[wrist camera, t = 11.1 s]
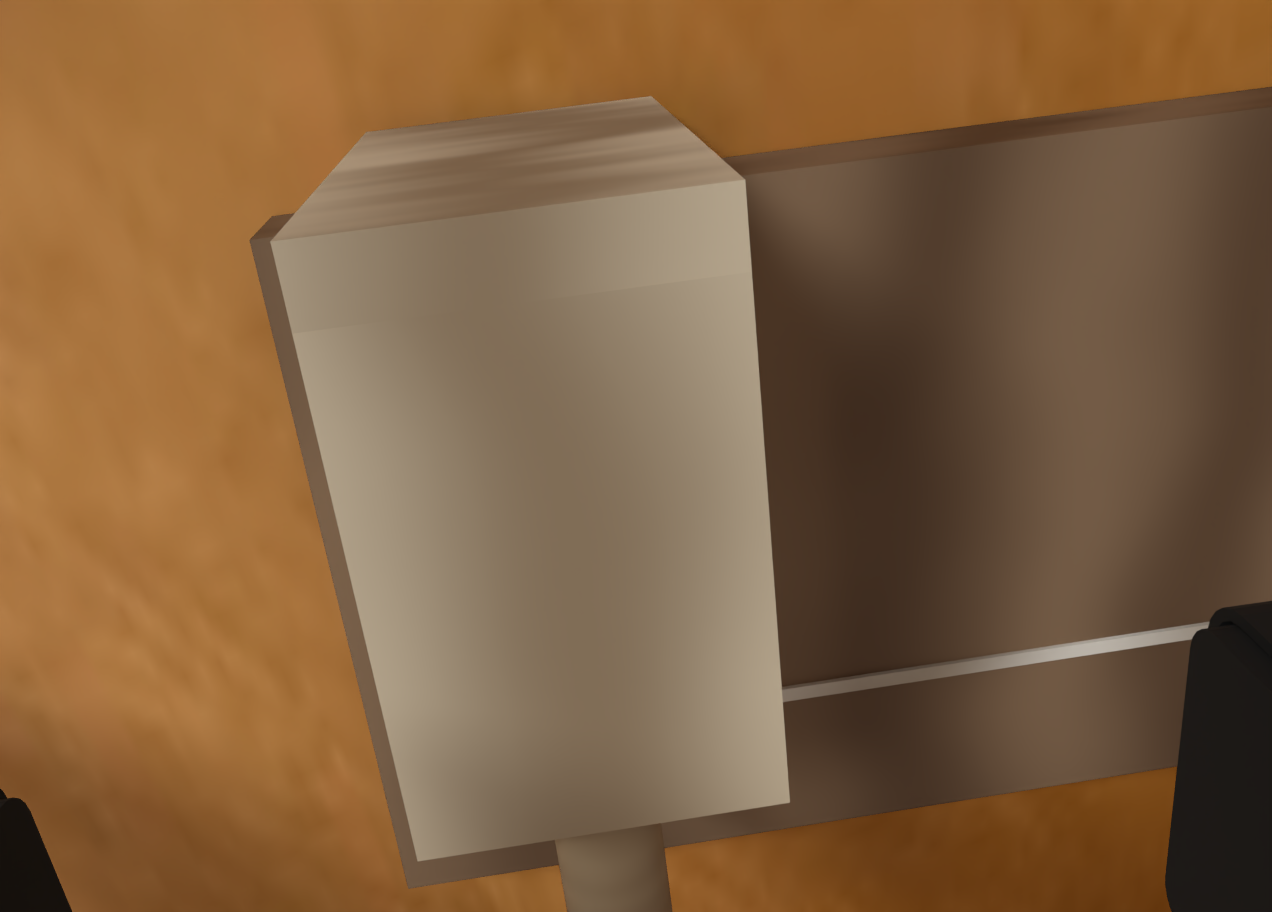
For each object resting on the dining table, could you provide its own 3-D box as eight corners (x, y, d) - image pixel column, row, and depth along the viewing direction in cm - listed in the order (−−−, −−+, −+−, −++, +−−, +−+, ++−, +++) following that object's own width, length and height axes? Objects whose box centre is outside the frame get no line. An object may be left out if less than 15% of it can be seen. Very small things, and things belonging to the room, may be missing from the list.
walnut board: (1483, 59, 22) (1576, 68, 20) (1377, 673, 28) (1443, 727, 26) (272, 216, 21) (248, 241, 19) (415, 825, 26) (407, 891, 25)
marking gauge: (650, 96, 20) (744, 179, 12) (712, 700, 25) (807, 1041, 17) (366, 131, 20) (270, 241, 12) (484, 735, 25) (473, 1097, 17)
